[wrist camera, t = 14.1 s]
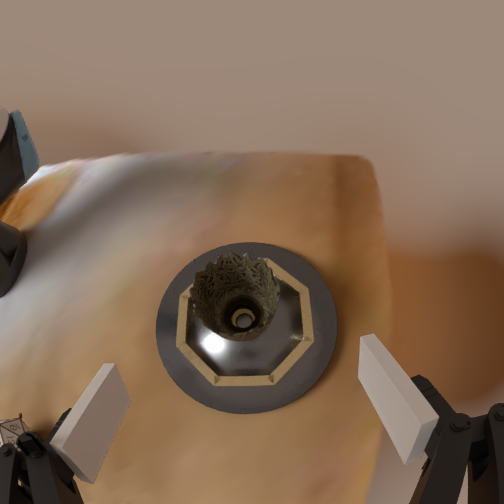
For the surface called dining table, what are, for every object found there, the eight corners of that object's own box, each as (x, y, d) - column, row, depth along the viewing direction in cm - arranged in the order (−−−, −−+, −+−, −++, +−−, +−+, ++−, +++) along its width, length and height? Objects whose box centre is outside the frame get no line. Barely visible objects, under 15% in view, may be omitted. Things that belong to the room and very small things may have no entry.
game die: (45, 452, 24) (-8, 453, 16) (34, 404, 26) (-23, 402, 18) (62, 481, 19) (-2, 485, 11) (47, 429, 21) (-23, 428, 13)
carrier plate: (130, 324, 31) (122, 318, 30) (243, 221, 38) (242, 212, 36) (247, 450, 23) (245, 453, 21) (369, 313, 30) (374, 307, 28)
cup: (287, 344, 28) (291, 320, 21) (218, 362, 27) (197, 344, 20) (268, 282, 32) (265, 242, 25) (204, 298, 31) (184, 263, 24)
